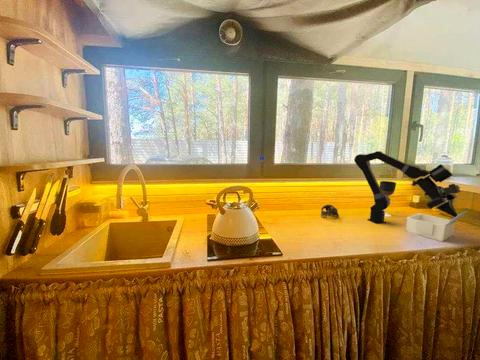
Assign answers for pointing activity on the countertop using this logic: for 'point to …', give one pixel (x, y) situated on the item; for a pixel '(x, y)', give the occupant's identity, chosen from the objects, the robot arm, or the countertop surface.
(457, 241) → the countertop surface
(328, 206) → the dark glossy dome
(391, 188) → the wineglass
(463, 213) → the far flap
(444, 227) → the carton
